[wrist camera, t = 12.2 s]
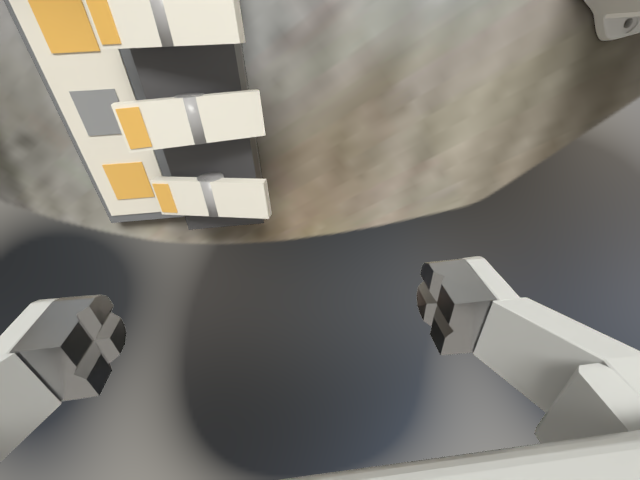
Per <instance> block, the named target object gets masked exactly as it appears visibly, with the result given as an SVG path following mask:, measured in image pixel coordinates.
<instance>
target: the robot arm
mask: <svg viewBox="0 0 640 480" xmlns="http://www.w3.org/2000/svg"><path fill="white" fill-rule="evenodd" d="M584 1H585V3H586V4H587V5H588V6H589V7H590V9H591V10H592V12H593V14H594V21H595V28H596V33H597V36H598V38H599V39H600V40H602V41H608V40H615V39H619V38H623V37H626V36H630V35H633V34H637V33H640V0H584ZM625 21H626V24H625V25H624V23H625ZM420 275H421V277H422V279H423V282H422V283H421V284H420V285H419V286H418V289H417V306H418V309H419V312H420V315H421V317H422V319H423V321H424V322H426V323H428V324H429V325H430V326H432V327H431V331H430V335H431V337H432V339H433V341H434V343H435V345H436V347H437V349H438V351H439V353H440V355H451V354H462V353H473V352H474V353H473V354H474V355H475V356H476V357H477V358H478V359H480V360H481V361H482V362H483V363H485V364H486V365H487V366H488V367H490V368H491V369H492V370H493V371H495V372H496V373H497V374H498V375H500V376H501V377H502V378H504V379H505V380H506V381H507V382H509V383H510V384H511V385H512V386H513V387H515V388H516V389H517V390H518V391H520V392H521V393H522V394H523V395H525V396H526V397H527V398H528V399H530V400H531V401H532V402H533V403H534V404H536V405H537V406H538V407H539V408H541V409H542V410H543V411H545V412H546V414H545V415H544V417H543V418H542V420H541V421H540V423H539V424H538V426H537V427H536V430H535V433H534V434H535V435H536V437H537V438H538V440H539V442H540V443H541V444H534V445H527V446H520V447H512V448H506V449H498V450H491V451H485V452H477V453H469V454H462V455H455V456H448V457H441V458H434V459H426V460H419V461H411V462H404V463H397V464H390V465H383V466H375V467H368V468H361V469H354V470H346V471H339V472H332V473H325V474H318V475H310V476H303V477H296V478H289V479H282V480H640V351H638V350H636V349H634V348H632V347H630V346H628V345H626V344H624V343H622V342H619V341H617V340H615V339H613V338H611V337H609V336H607V335H605V334H602V333H600V332H598V331H596V330H594V329H592V328H590V327H588V326H586V325H584V324H581V323H579V322H577V321H575V320H573V319H571V318H569V317H567V316H565V315H562V314H560V313H558V312H556V311H554V310H552V309H550V308H547V307H545V306H543V305H541V304H539V303H537V302H535V301H533V300H531V299H529V298H527V297H525V298H520V297H519V296H518V295H517V294H516V293H515V292H514V290H513V289H512V288H511V287H510V286H509V285H508V284H507V283H506V282H505V280H504V279H503V278H502V277H501V276H500V275H499V274H498V273H497V272H496V271H495V269H494V268H493V267H492V266H491V265H490V264H489V263H488V262H487V261H486V259H484V258H483V257H480V256H476V257H468V258H461V259H454V260H446V261H435V262H426V263H424V264H423V265H422V267H421V272H420ZM112 308H113V304H112V302H111V301H110V299H109V298H108V296H104V295H90V296H77V297H64V298H56V299H43V300H38V301H35V302H33V303H31V304H30V305H29V306H28V307H27V308H26V309H25V310H24V311H23V312H22V313H21V314H20V315H19V316H18V317H17V319H16V320H15V321H14V322H13V323H12V324H11V325H10V326H9V327H8V328H7V329H6V330H5V331H4V333H3V334H2V335H1V336H0V462H1V461H2V460H3V459H4V458H5V457H6V456H7V455H8V454H9V453H10V452H11V451H13V449H14V448H16V447H17V446H18V445H19V444H20V443H21V442H22V441H23V440H24V439H25V438H26V437H27V436H28V435H29V434H30V433H31V432H32V431H33V430H34V429H35V428H37V427H38V426H39V425H40V424H41V423H42V422H43V421H44V420H45V419H46V418H47V417H48V416H49V415H50V414H51V413H52V412H53V411H54V410H55V409H56V408H57V407H58V406H59V405H60V404H61V401H66V400H74V399H80V398H87V397H95V396H99V395H100V394H101V392H102V390H103V388H104V386H105V384H106V382H107V380H108V378H109V376H110V374H111V372H112V368H111V365H110V363H111V362H112V361H113V360H114V359H115V358H116V357H118V356H119V355H120V353H121V352H122V349H123V347H124V345H125V340H126V329H125V324H124V323H123V321H122V319H121V318H120V317H118V316H117V315H115V314H113V313H111V311H112Z"/></svg>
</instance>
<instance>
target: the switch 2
mask: <svg viewBox="0 0 640 480" xmlns="http://www.w3.org/2000/svg"><path fill="white" fill-rule="evenodd" d="M111 107H112V109H113V112H114V115H115V117H116V120H117V122H118V125H119V127H120V130H121V133H122V135H123V138H124V140H125V143H126V145H127V148H128V150H129V153H133V152H141V151H149V150H157V149H164V148H172V147H180V146H188V145H197V144H205V143H211V142H219V141H227V140H235V139H242V138H250V137H258V136H266V135H265V128H264V121H263V113H262V106H261V99H260V91H259V90H258V89H254V90H244V91H233V92H222V93H211V94H204V93H186V94H180V95H176V96H174V97H168V98H158V99H147V100H136V101H125V102H114V103H113V104H111Z"/></svg>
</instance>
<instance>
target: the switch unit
mask: <svg viewBox="0 0 640 480" xmlns="http://www.w3.org/2000/svg"><path fill="white" fill-rule="evenodd" d="M4 2H5V4H6V6H7V8H8V10H9V12H10V14H11V16H12V19H13V21H14V23H15V25H16V27H17V29H18V31H19V33H20V35H21V37H22V39H23V41H24V43H25V45H26V47H27V50H28V52H29V54H30V56H31V58H32V60H33V62H34V64H35V66H36V68H37V70H38V72H39V74H40V76H41V78H42V80H43V83H44V85H45V87H46V89H47V91H48V93H49V95H50V97H51V99H52V101H53V103H54V105H55V107H56V109H57V111H58V114H59V116H60V118H61V120H62V122H63V124H64V126H65V128H66V130H67V132H68V134H69V136H70V138H71V140H72V142H73V144H74V147H75V149H76V151H77V153H78V155H79V157H80V159H81V161H82V163H83V165H84V167H85V169H86V171H87V173H88V175H89V177H90V180H91V182H92V184H93V186H94V188H95V190H96V192H97V194H98V196H99V198H100V200H101V202H102V204H103V206H104V208H105V211H106V213H107V215H108V217H109V219H110V221H111V223H116V222H128V221H140V220H151V219H163V218H175V217H185V219H186V222H187V225H188V228H189V230H191V229H202V228H213V227H225V226H236V225H248V224H259V223H264V219H259V218H236V217H210V216H190V215H166V214H162V213H161V210H160V207H159V205H158V202H157V199H156V196H155V194H154V191H153V188H152V186H151V183H150V180H151V179H152V178H154V177H155V176H167V177H199V176H200V175H202V174H205V173H210V172H219V173H222V174H223V176H224V178H254V179H262V173H261V166H260V160H259V153H258V147H257V140H256V137H250V138H242V139H235V140H227V141H219V142H211V143H205V144H197V145H188V146H180V147H172V148H164V149H157V150H149V151H141V152H133V153H129V150H128V148H127V145H126V143H125V140H124V138H123V135H122V133H121V130H120V127H119V125H118V122H117V120H116V117H115V115H114V112H113V109H112V107H111V104H113V103H114V102H125V101H136V100H147V99H158V98H168V97H174V96H176V95H180V94H186V93H204V94H211V93H222V92H233V91H244V90H249V89H248V82H247V76H246V69H245V63H244V56H243V50H242V43H238V44H215V45H192V46H170V47H146V48H123V49H102V47H101V44H100V42H99V39H98V36H97V33H96V31H95V28H94V25H93V23H92V20H91V17H90V14H89V12H88V9H87V6H86V4H85V1H84V0H4Z"/></svg>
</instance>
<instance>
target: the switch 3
mask: <svg viewBox="0 0 640 480" xmlns="http://www.w3.org/2000/svg"><path fill="white" fill-rule="evenodd" d="M150 183H151V186H152V188H153V191H154V194H155V196H156V199H157V202H158V205H159V207H160V210H161V213H162V214H166V215H190V216H210V217H236V218H259V219H269V218H270V216H271V214H272V212H271V205H270V199H269V192H268V185H267V179H254V178H224V176H223V174H222V173H219V172H210V173H205V174H202V175H200V176H199V177H167V176H155V177H154V178H152V179H151V180H150Z"/></svg>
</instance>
